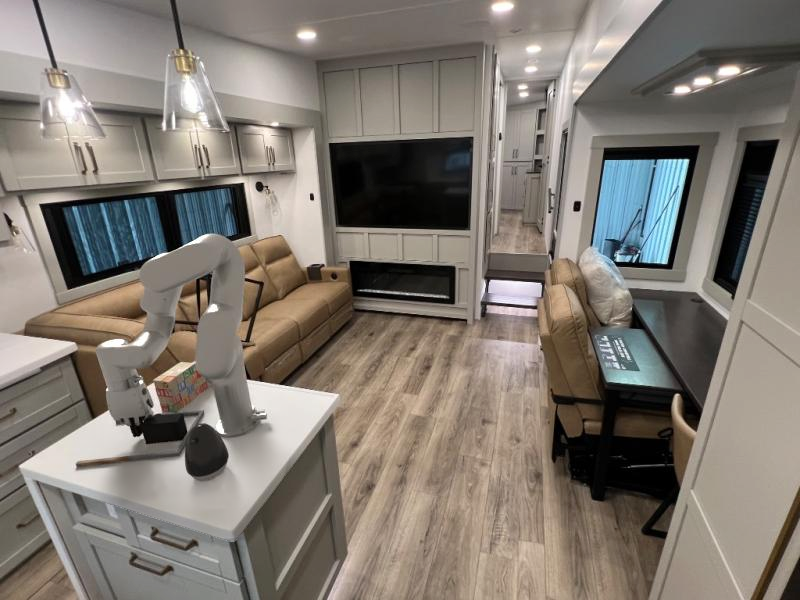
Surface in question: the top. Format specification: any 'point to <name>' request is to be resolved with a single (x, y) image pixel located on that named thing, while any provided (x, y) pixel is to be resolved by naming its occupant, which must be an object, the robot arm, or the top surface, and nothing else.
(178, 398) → the stack of blocks
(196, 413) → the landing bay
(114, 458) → the shelf lane
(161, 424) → the digital camera
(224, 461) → the black rounded mouse
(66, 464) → the top surface
